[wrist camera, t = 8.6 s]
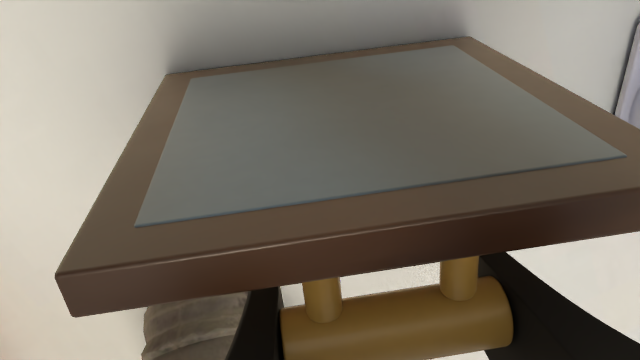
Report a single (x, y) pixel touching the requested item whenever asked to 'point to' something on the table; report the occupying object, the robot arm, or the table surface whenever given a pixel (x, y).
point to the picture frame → (354, 193)
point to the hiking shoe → (193, 328)
